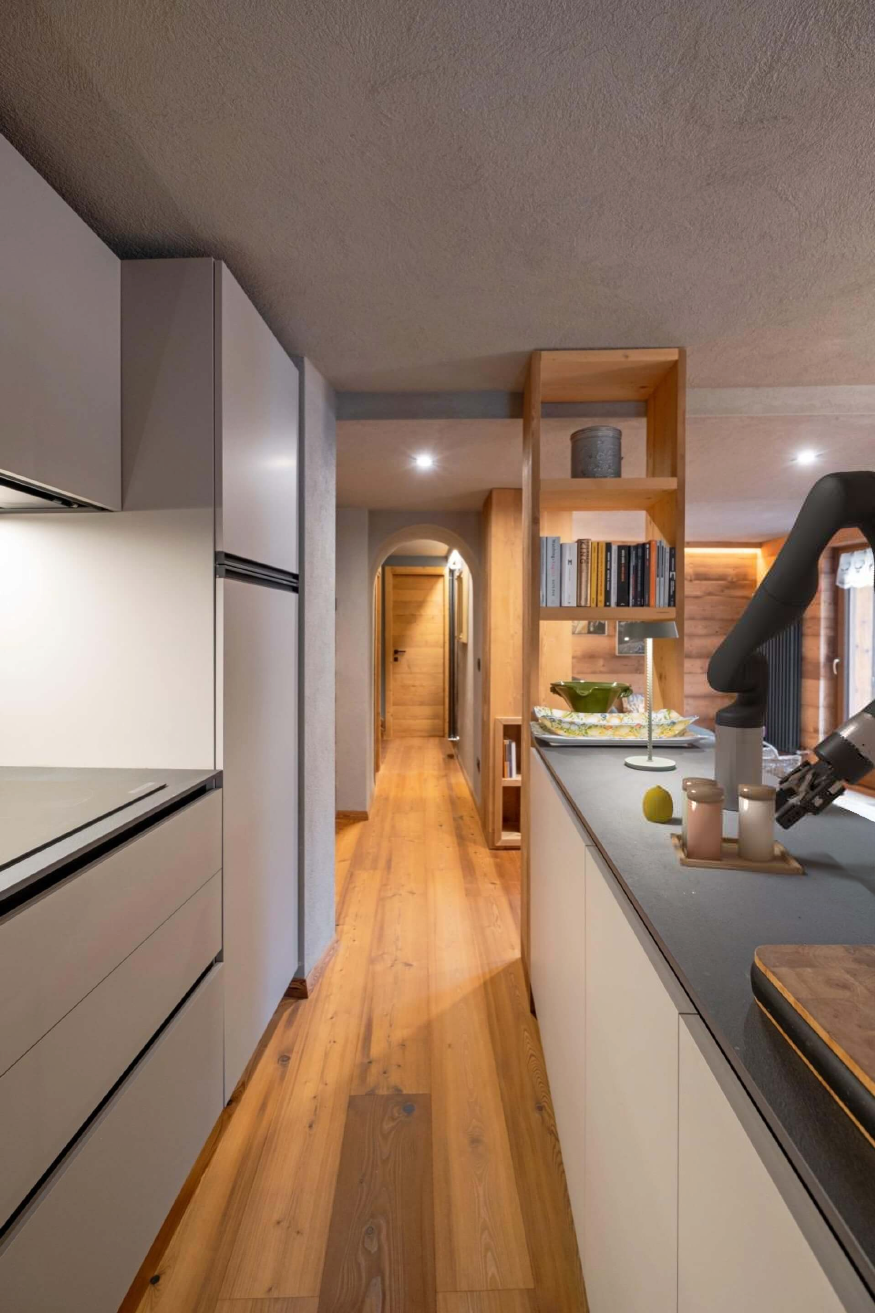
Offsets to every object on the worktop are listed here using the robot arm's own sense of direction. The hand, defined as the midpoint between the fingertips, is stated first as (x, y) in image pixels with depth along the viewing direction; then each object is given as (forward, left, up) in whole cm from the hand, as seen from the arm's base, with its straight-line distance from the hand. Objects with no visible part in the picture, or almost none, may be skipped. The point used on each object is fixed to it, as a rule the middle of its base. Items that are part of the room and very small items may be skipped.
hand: (772, 817), depth 106 cm
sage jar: (-3, -10, -6) cm, 13 cm away
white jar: (0, -2, -6) cm, 7 cm away
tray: (0, -6, -8) cm, 10 cm away
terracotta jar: (+3, -10, -6) cm, 13 cm away
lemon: (-18, -15, -8) cm, 25 cm away
